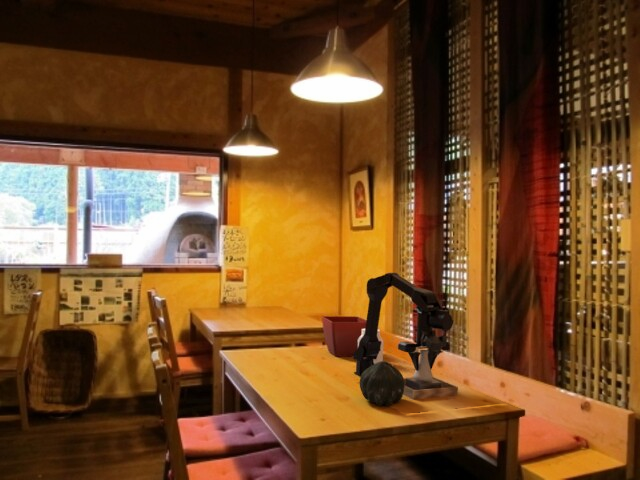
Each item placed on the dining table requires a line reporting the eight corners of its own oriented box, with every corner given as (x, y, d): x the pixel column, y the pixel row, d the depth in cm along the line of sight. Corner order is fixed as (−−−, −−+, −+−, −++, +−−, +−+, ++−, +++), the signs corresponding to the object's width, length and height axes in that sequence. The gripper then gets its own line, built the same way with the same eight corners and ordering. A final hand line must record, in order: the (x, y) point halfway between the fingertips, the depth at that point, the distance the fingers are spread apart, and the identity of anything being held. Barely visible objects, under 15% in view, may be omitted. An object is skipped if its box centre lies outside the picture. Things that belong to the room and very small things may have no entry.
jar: (385, 365, 233) (386, 331, 234) (365, 367, 230) (366, 332, 230) (373, 360, 244) (374, 327, 244) (354, 361, 241) (355, 328, 241)
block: (419, 395, 185) (419, 384, 185) (405, 388, 194) (405, 377, 194) (440, 393, 189) (441, 382, 189) (426, 387, 197) (426, 376, 197)
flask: (434, 377, 194) (435, 349, 194) (432, 381, 187) (433, 353, 187) (414, 374, 196) (415, 347, 196) (411, 379, 189) (412, 351, 189)
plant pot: (370, 357, 250) (371, 321, 250) (331, 358, 245) (332, 322, 245) (356, 349, 268) (357, 316, 269) (320, 350, 263) (321, 316, 264)
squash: (379, 377, 190) (366, 349, 183) (417, 386, 181) (404, 358, 173) (361, 409, 182) (345, 382, 174) (399, 421, 173) (384, 393, 165)
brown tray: (413, 401, 180) (413, 390, 180) (389, 389, 195) (390, 379, 195) (457, 397, 187) (457, 387, 187) (431, 385, 202) (431, 376, 202)
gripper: (414, 330, 180) (413, 377, 180) (460, 329, 188) (458, 373, 187) (397, 325, 191) (396, 369, 191) (441, 324, 198) (440, 366, 198)
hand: (423, 370), depth 191 cm, fingers closed on flask, 5 cm apart
